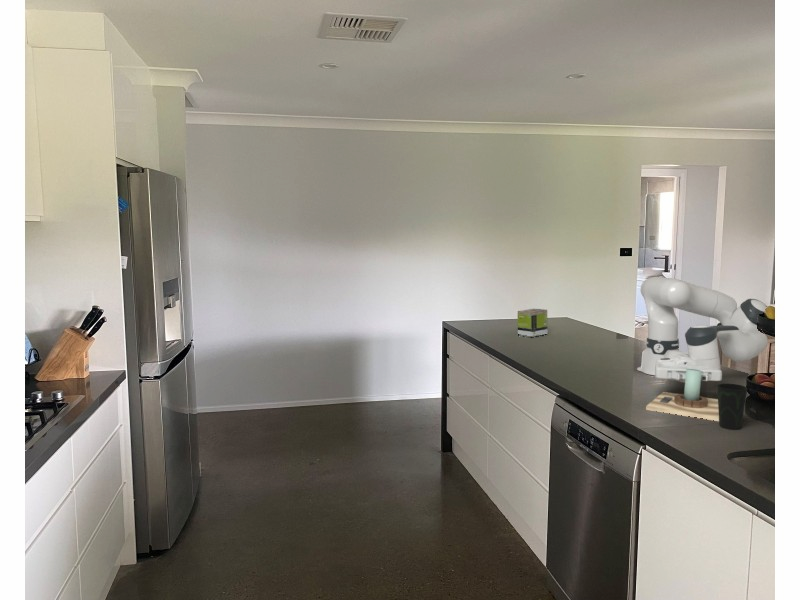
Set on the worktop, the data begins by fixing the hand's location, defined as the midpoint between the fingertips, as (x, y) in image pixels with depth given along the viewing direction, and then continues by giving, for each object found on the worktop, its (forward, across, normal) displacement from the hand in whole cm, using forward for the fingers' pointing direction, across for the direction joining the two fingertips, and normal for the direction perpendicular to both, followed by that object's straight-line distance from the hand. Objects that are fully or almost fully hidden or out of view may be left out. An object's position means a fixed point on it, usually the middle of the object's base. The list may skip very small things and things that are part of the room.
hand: (692, 378), depth 192 cm
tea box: (-135, +53, -10) cm, 145 cm away
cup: (+18, -6, -10) cm, 22 cm away
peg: (-1, 0, -9) cm, 9 cm away
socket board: (-1, 0, -10) cm, 10 cm away
